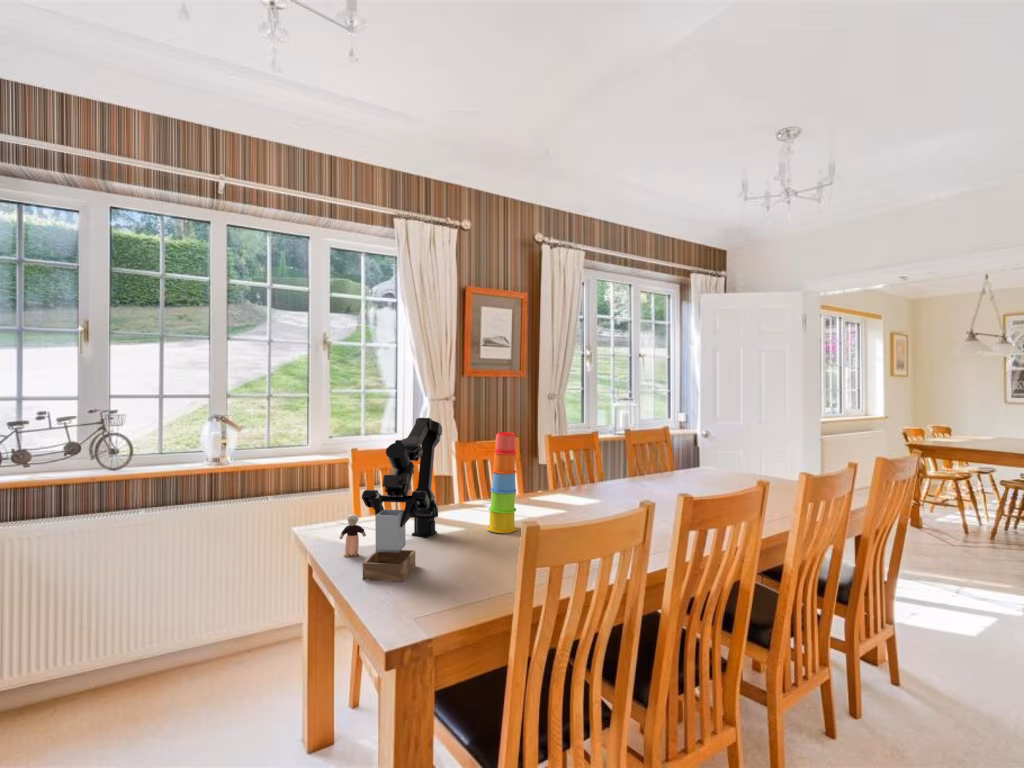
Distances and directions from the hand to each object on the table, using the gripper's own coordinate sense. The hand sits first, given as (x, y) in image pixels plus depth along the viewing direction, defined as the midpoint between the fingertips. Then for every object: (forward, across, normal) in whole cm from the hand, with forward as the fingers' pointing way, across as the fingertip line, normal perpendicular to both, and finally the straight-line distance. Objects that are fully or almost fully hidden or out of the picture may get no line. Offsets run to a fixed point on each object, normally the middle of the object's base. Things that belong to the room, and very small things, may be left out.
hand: (389, 526), depth 141 cm
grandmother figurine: (0, -16, +19) cm, 25 cm away
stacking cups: (-20, +26, +40) cm, 52 cm away
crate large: (+9, 0, +10) cm, 13 cm away
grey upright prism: (+4, 0, +6) cm, 7 cm away
